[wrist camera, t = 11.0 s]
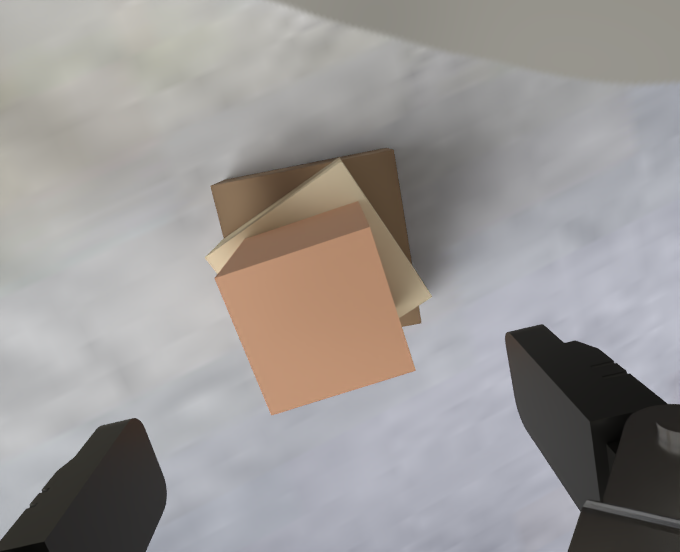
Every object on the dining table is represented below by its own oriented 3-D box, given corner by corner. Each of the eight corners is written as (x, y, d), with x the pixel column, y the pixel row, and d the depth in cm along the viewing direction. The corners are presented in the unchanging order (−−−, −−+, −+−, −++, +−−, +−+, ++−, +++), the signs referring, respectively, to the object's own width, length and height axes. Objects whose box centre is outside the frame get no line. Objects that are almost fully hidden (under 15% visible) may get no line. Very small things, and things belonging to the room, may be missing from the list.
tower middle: (339, 156, 25) (341, 161, 21) (417, 272, 26) (432, 296, 23) (223, 238, 26) (204, 257, 22) (305, 346, 27) (301, 380, 23)
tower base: (384, 147, 29) (393, 149, 25) (409, 299, 31) (421, 323, 27) (226, 179, 29) (210, 186, 25) (263, 327, 31) (253, 354, 27)
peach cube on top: (358, 201, 21) (369, 227, 16) (393, 309, 23) (415, 370, 17) (244, 238, 22) (214, 278, 16) (285, 343, 23) (271, 415, 17)
